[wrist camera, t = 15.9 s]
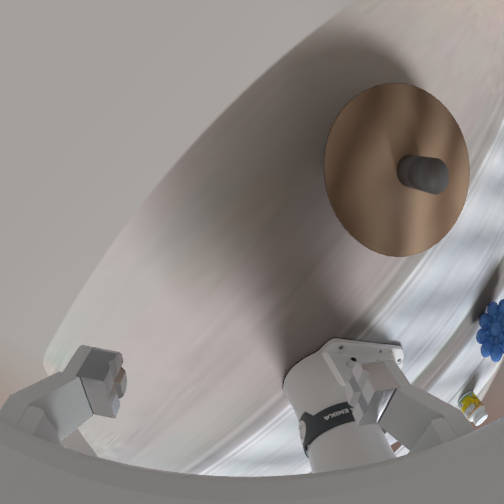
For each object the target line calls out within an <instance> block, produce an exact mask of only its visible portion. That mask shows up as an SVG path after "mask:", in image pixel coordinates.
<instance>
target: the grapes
mask: <svg viewBox="0 0 504 504" xmlns="http://www.w3.org/2000/svg"><path fill="white" fill-rule="evenodd" d="M487 312H488V314H487V313H483V314H482V315H481V316H480V319H479V324H480V327H481V328H482V329H480V330H479V331H478V332H477V335H476V339H477V342H478V343H479V344H482V346H481V354H482V356H483V357H488V356H490V354H491V359H492V361H494V362H498V361H499V360H500V359H501V358H502V354H504V299H503V300H501V301H500V302H499V305H497V303H496V302H491V303H490V304H489V305H488V308H487Z"/></svg>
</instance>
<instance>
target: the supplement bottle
mask: <svg viewBox="0 0 504 504" xmlns="http://www.w3.org/2000/svg"><path fill="white" fill-rule="evenodd" d="M458 406H459V407H460V409H461V410H462V411H463V413H464V414H465V416H466V417H467V418H468V420H469V421H471V422H472V421H474V424H475V425H476V426H478V425H480V424H481V423H482V422H483V421H484V420H485V419H486V418H487V413H486V412H484V410H485V407H484V405H483V404H482V403H481V401H480V400H479V399H478V398H477V396H476V395H475V394H474V393H473V392H472V391H469V392H467V393H465V394H464V395H463V396H462V397H461V398H460V399H459V401H458Z"/></svg>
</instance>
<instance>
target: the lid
mask: <svg viewBox="0 0 504 504" xmlns="http://www.w3.org/2000/svg"><path fill="white" fill-rule="evenodd" d="M469 176H470V168H469V157H468V151H467V147H466V143H465V140H464V137H463V134H462V132H461V130H460V128H459V126H458V124H457V122H456V121H455V119H454V117H453V116H452V114H451V113H450V112H449V111H448V109H447V108H446V107H445V106H444V105H443V104H442V103H441V102H440V101H439V100H438V99H436V98H435V97H434V96H433V95H431V94H430V93H428V92H426V91H424V90H423V89H420V88H418V87H415V86H412V85H408V84H403V83H386V84H382V85H378V86H374V87H372V88H369V89H367V90H365V91H363V92H361V93H360V94H358V95H357V96H355V97H354V98H353V99H351V100H350V101H349V102H348V103H347V104H346V105H345V106H344V108H343V109H342V110H341V111H340V113H339V114H338V116H337V118H336V119H335V121H334V123H333V125H332V127H331V130H330V132H329V135H328V139H327V142H326V147H325V154H324V179H325V186H326V190H327V195H328V198H329V200H330V203H331V206H332V208H333V210H334V212H335V214H336V216H337V218H338V219H339V221H340V223H341V224H342V226H343V227H344V228H345V229H346V230H347V231H348V233H349V234H350V235H351V236H353V237H354V238H355V239H356V240H357V241H358V242H360V243H361V244H362V245H364V246H365V247H367V248H368V249H370V250H372V251H375V252H377V253H379V254H383V255H386V256H394V257H405V256H410V255H415V254H418V253H421V252H423V251H425V250H427V249H429V248H431V247H432V246H434V245H435V244H437V243H438V242H439V241H440V240H441V239H442V238H444V237H445V236H446V234H447V233H448V232H449V231H450V230H451V228H452V227H453V226H454V224H455V223H456V221H457V219H458V217H459V215H460V213H461V211H462V209H463V206H464V204H465V200H466V197H467V192H468V187H469Z"/></svg>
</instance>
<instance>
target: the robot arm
mask: <svg viewBox="0 0 504 504" xmlns="http://www.w3.org/2000/svg"><path fill="white" fill-rule="evenodd" d="M340 346H341V347H340ZM403 362H404V353H403V350H402V348H401V346H398V345H388V344H379V343H370V342H362V341H354V340H346V339H339V338H334V339H331V340H329V341H328V342H327V343H326V344H325V345H324V346H323V347H322V348H321V349H320V350H319V351H317V352H315V353H314V354H312V355H310V356H308V357H306V358H304V359H303V360H301V361H300V362H298V363H297V364H296V365H295V366H294V367H293V368H292V369H291V370H290V371H289V373H288V374H287V376H286V378H285V380H284V384H283V391H284V394H285V396H286V398H287V399H288V400H289V402H290V403H291V405H292V407H293V409H294V411H295V413H296V416H297V418H298V421H299V434H300V439H301V443H302V444H303V448H304V452H305V455H306V456H307V457H308V458H309V461H310V465H311V469H312V473H310V474H300V475H287V476H267V477H228V476H209V475H196V474H186V473H177V472H169V471H162V470H156V469H149V468H144V467H138V466H133V465H128V464H124V463H119V462H115V461H111V460H107V459H103V458H99V457H95V456H92V455H88V454H84V453H81V452H78V451H75V450H72V449H69V448H66V447H64V446H63V444H62V443H61V440H62V439H64V438H65V437H66V436H67V435H69V434H70V433H71V432H73V431H74V430H75V429H76V428H78V427H79V426H80V425H82V424H83V423H84V422H85V421H87V420H88V419H89V418H90V417H92V416H93V414H96V415H100V416H105V417H110V418H116V415H117V412H118V410H119V407H120V402H119V398H121V397H123V396H124V393H125V390H126V383H127V380H126V372H125V370H124V369H123V368H122V367H121V366H122V363H123V358H122V354H121V353H120V352H116V351H110V350H105V349H100V348H96V347H90V346H85V345H81V346H80V347H79V348H78V349H77V351H76V352H75V354H74V355H73V357H72V358H71V360H70V362H69V363H68V365H67V366H66V368H65V369H64V371H63V373H62V372H57V373H55V374H53V375H51V376H49V377H47V378H45V379H43V380H41V381H39V382H37V383H35V384H33V385H31V386H29V387H26V388H24V389H22V390H20V391H18V392H16V393H14V394H12V395H10V396H9V398H8V399H7V401H6V402H5V404H4V405H3V407H2V408H1V410H0V504H504V417H502V418H500V419H498V420H496V421H494V422H492V423H490V424H488V425H486V426H483V427H481V428H479V429H477V430H474V429H473V427H472V426H471V424H470V423H469V421H468V420H467V419H466V417H465V416H464V414H463V413H462V411H461V410H459V409H457V408H455V407H453V406H452V405H450V404H448V403H446V402H444V401H442V400H440V399H438V398H437V397H435V396H433V395H431V394H429V393H427V392H425V391H424V390H422V389H420V388H418V387H416V386H411V384H410V383H409V381H408V380H407V378H406V377H405V375H404V374H403V372H402V371H401V370H402V366H403ZM386 431H387V432H388V433H389V434H390V435H391V436H393V437H394V438H395V439H396V440H398V441H399V442H400V443H401V444H402V445H404V446H405V447H406V448H407V449H409V450H410V452H409V453H408V454H407V455H404V456H401V457H396V455H395V454H394V452H393V450H392V448H391V447H390V445H389V443H388V441H387V439H386V437H385V435H384V434H385V433H386Z"/></svg>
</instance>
